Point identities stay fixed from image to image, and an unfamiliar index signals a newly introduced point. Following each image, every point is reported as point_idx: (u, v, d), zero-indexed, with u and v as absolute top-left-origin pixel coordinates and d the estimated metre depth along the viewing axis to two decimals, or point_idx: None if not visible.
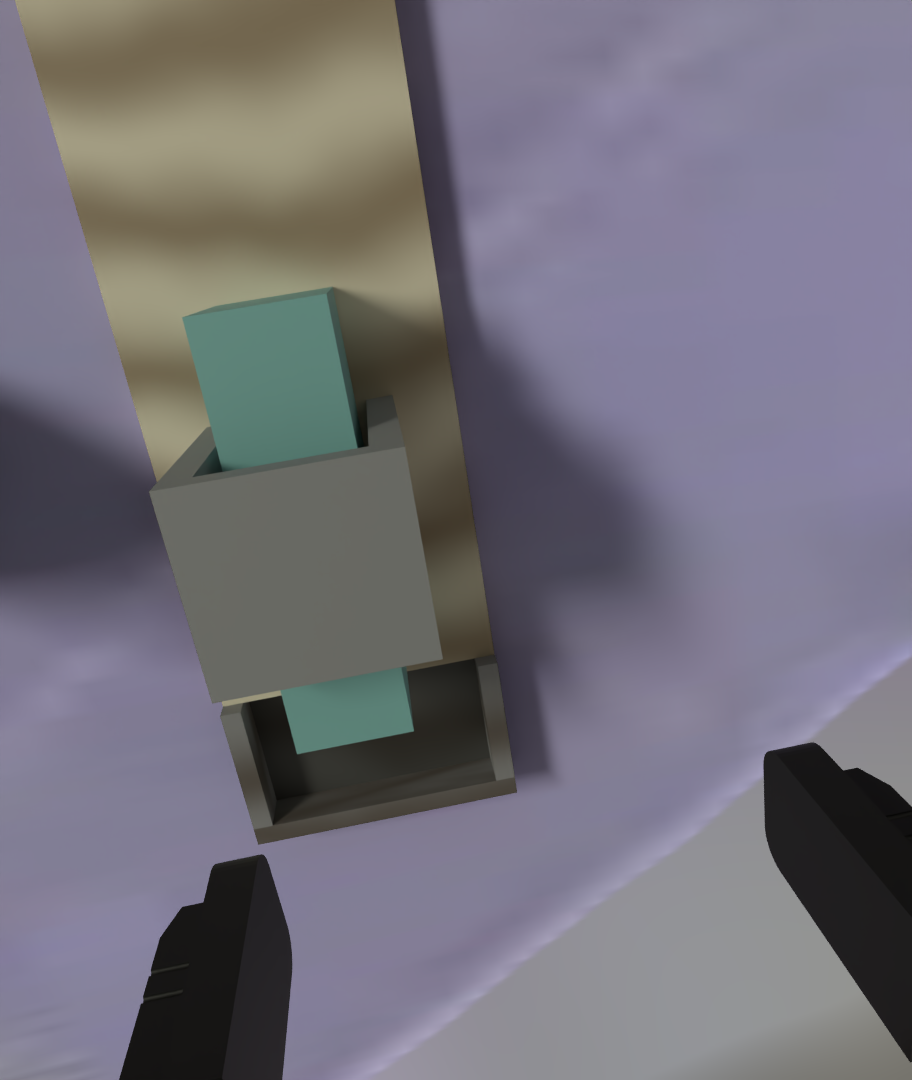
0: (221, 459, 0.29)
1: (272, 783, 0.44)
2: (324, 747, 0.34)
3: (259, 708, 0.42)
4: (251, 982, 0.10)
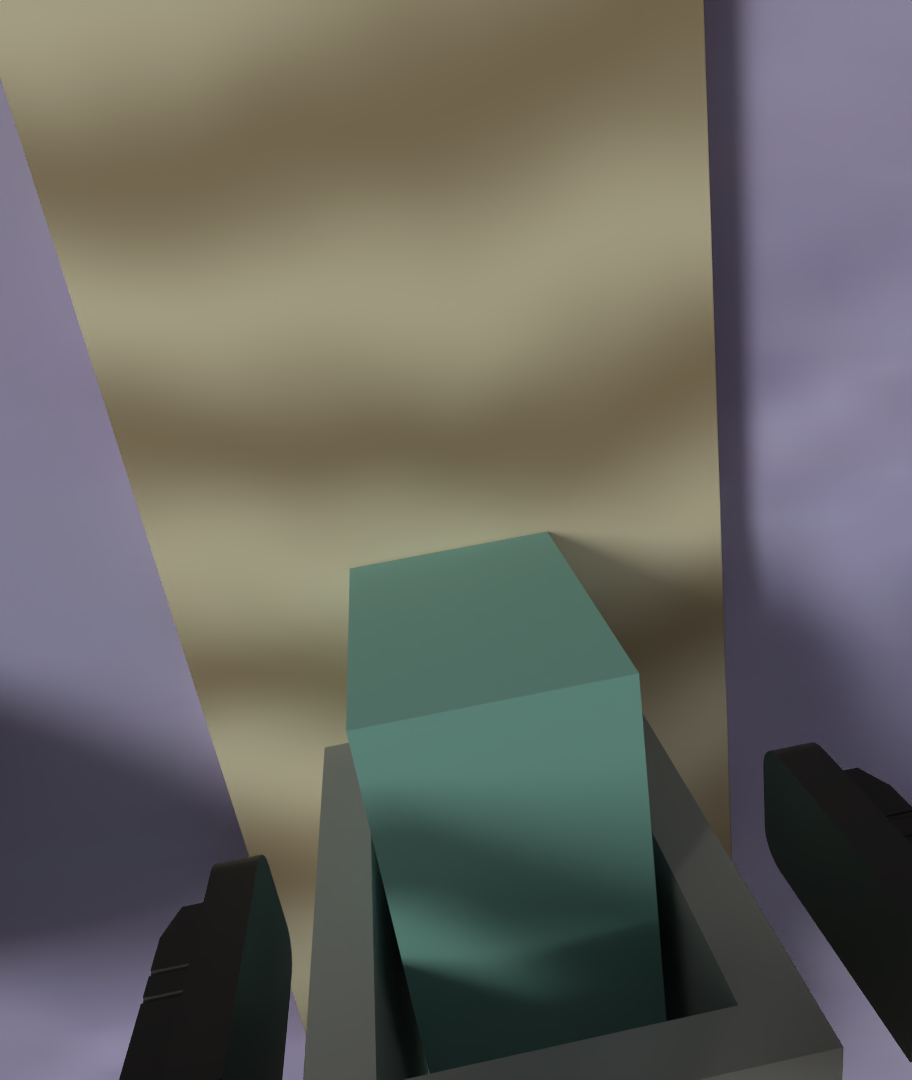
0: (404, 953, 0.15)
1: None
2: None
3: None
4: (250, 982, 0.10)
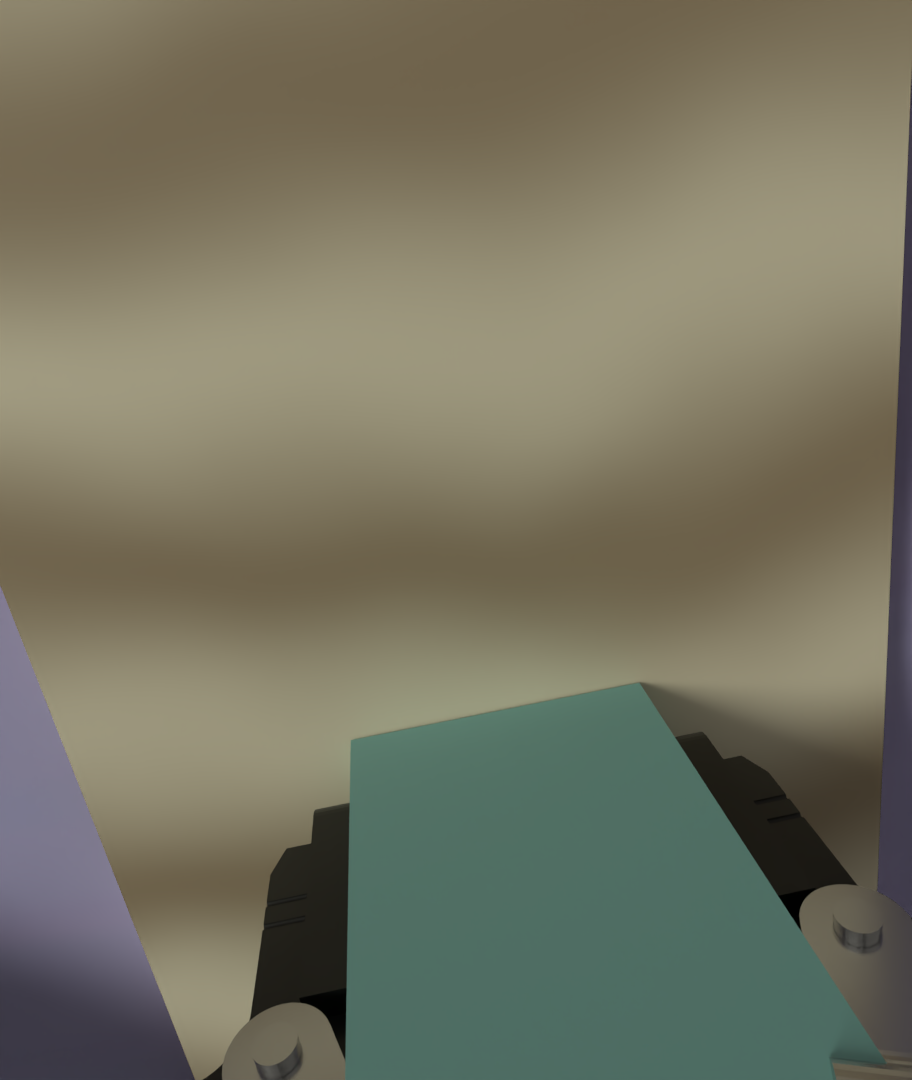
0: None
1: None
2: None
3: None
4: None
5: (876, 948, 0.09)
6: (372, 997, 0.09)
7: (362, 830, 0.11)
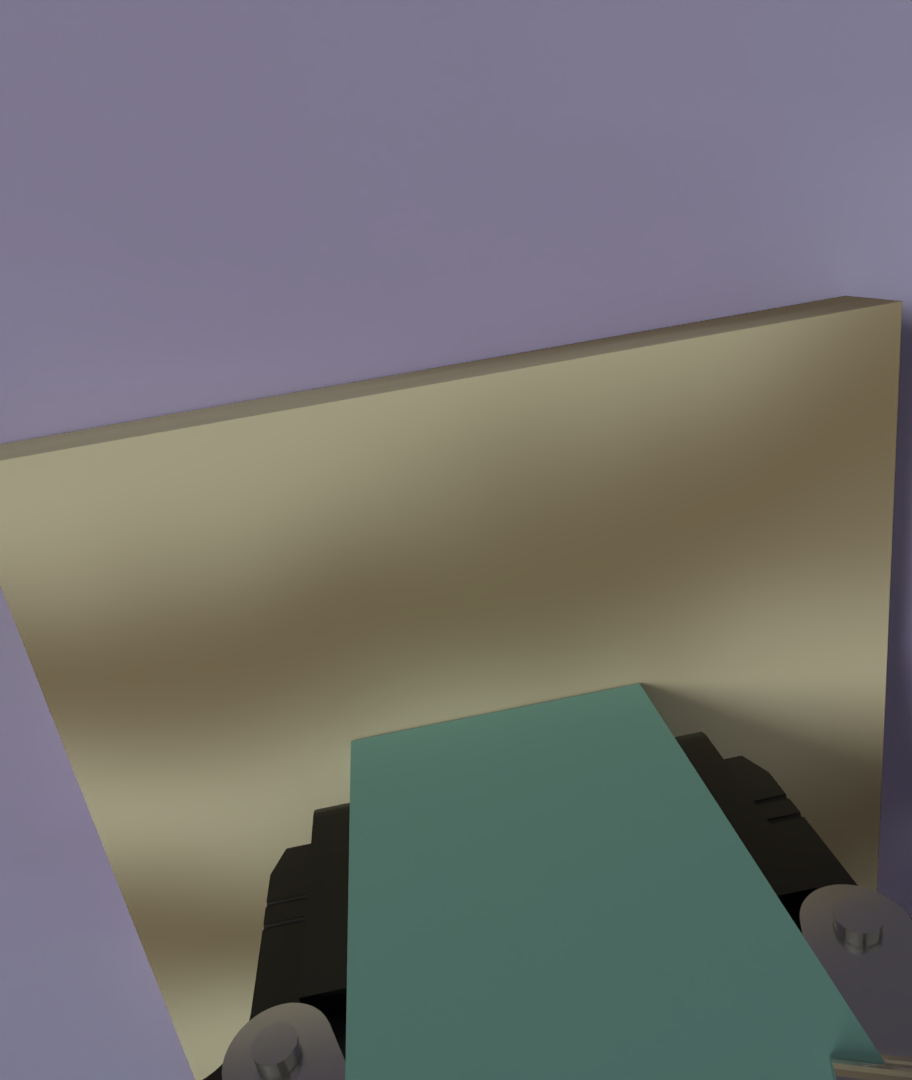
0: None
1: None
2: None
3: None
4: None
5: (876, 948, 0.09)
6: (372, 998, 0.09)
7: (362, 831, 0.11)
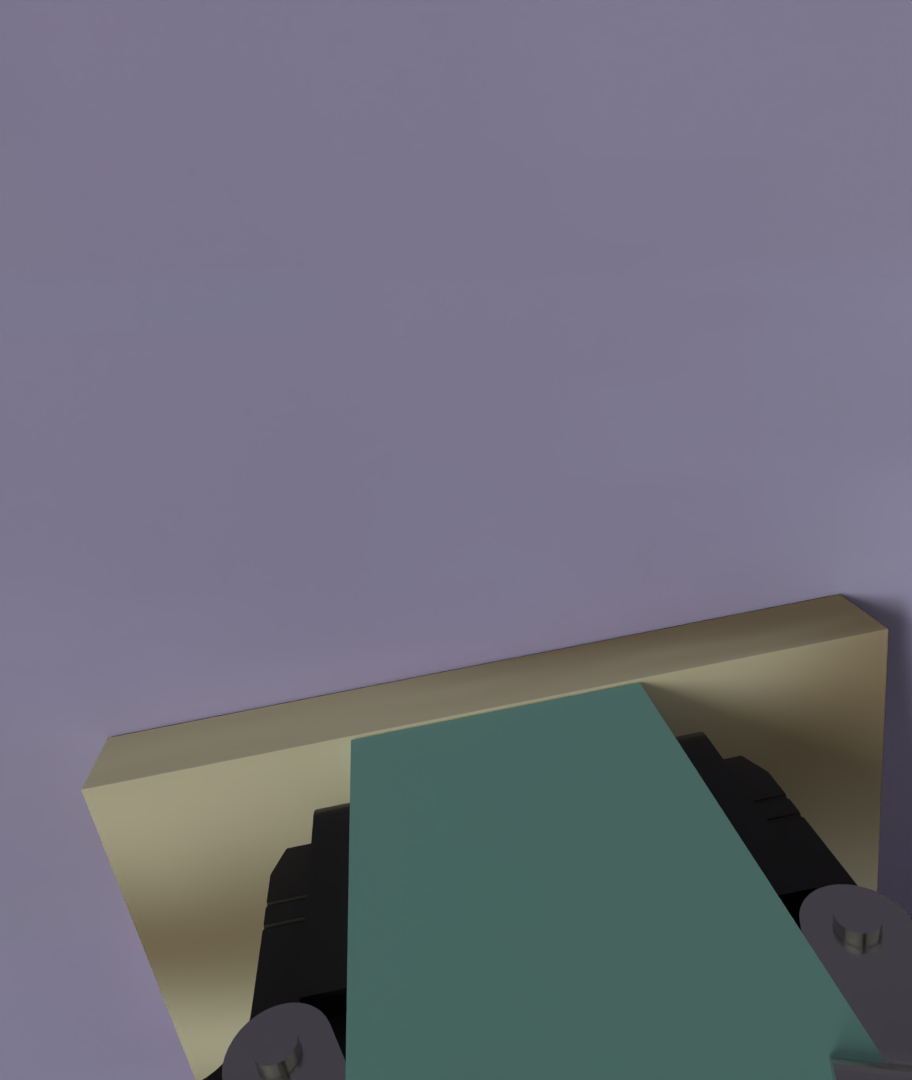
0: None
1: None
2: None
3: None
4: None
5: (876, 948, 0.09)
6: (372, 997, 0.09)
7: (362, 830, 0.11)
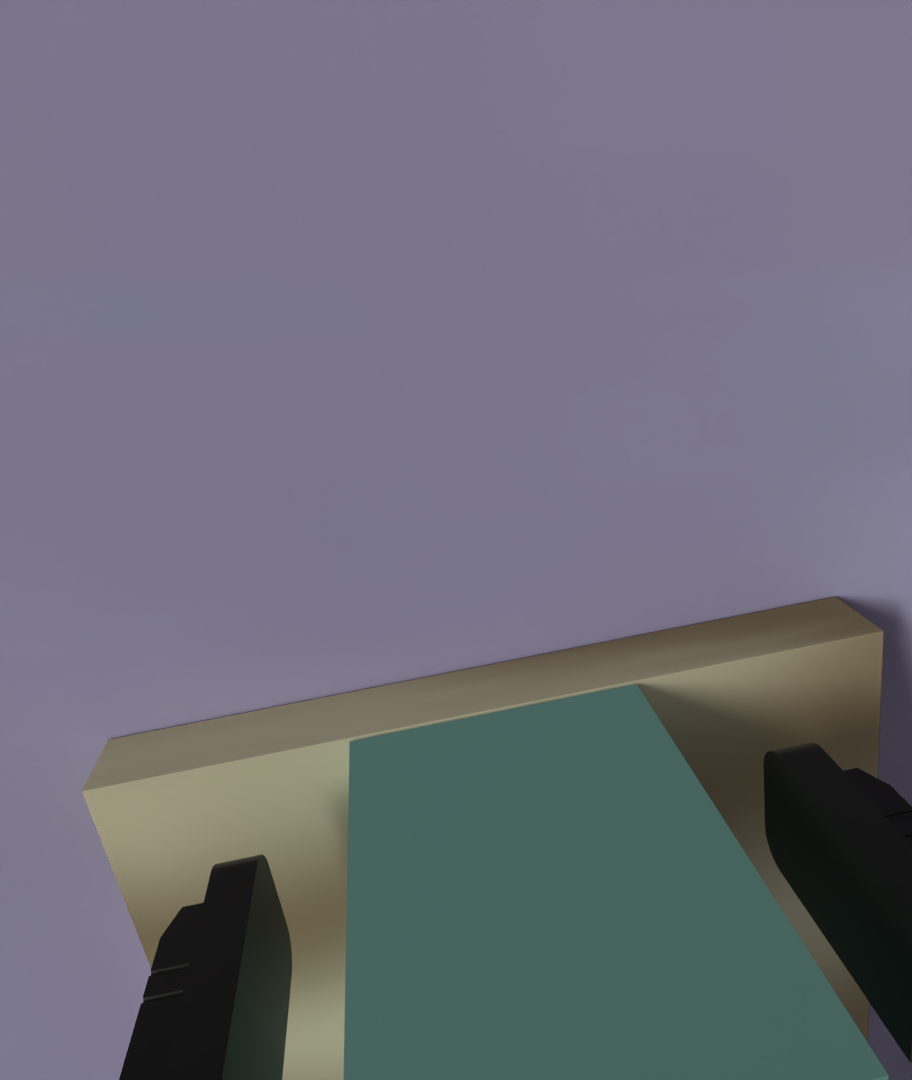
0: None
1: None
2: None
3: None
4: (251, 982, 0.10)
5: None
6: (370, 996, 0.09)
7: (361, 830, 0.11)
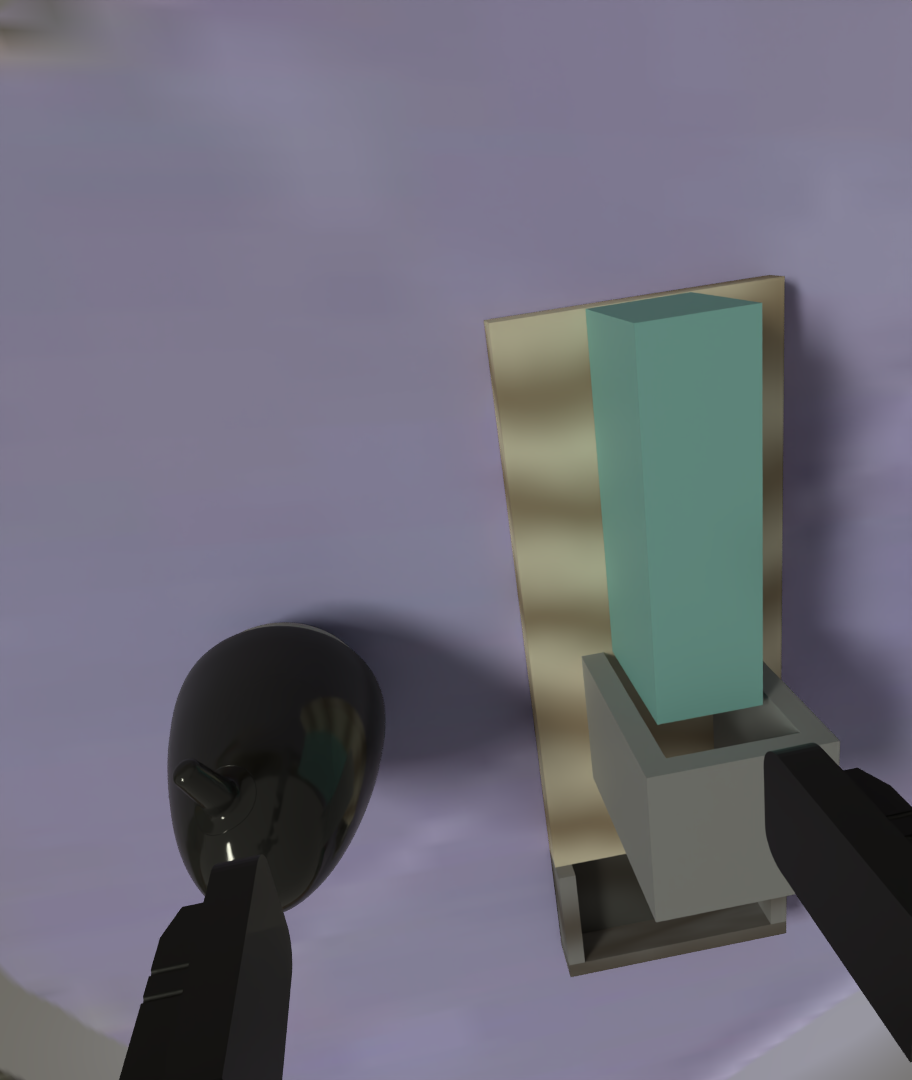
0: (643, 453, 0.32)
1: None
2: (681, 718, 0.37)
3: (575, 863, 0.49)
4: (251, 982, 0.10)
5: None
6: (625, 317, 0.32)
7: (603, 312, 0.34)
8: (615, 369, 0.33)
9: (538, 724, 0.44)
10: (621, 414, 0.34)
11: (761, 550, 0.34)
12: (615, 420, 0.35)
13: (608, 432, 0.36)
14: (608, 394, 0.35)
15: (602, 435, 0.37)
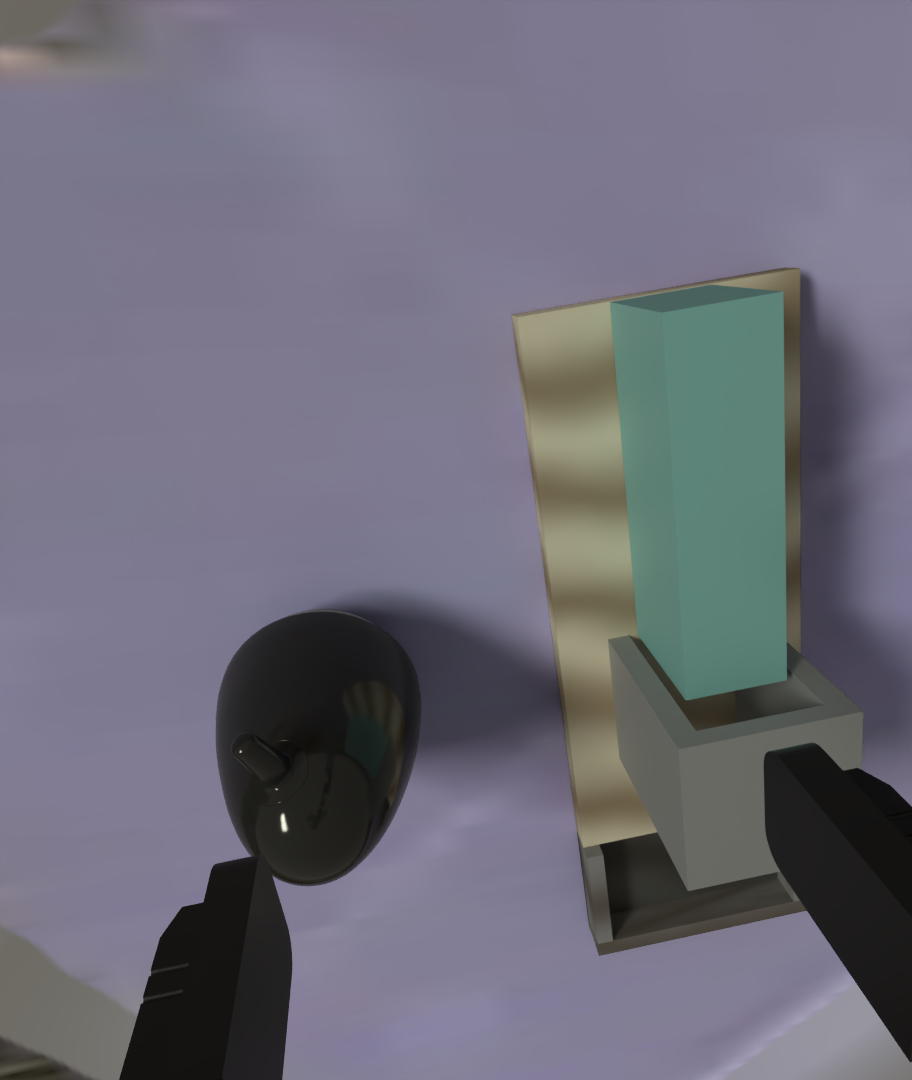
0: (671, 437, 0.33)
1: None
2: (708, 694, 0.38)
3: (601, 844, 0.51)
4: (251, 981, 0.10)
5: None
6: (651, 308, 0.33)
7: (628, 304, 0.36)
8: (642, 358, 0.35)
9: (566, 706, 0.46)
10: (648, 401, 0.35)
11: (784, 529, 0.35)
12: (642, 408, 0.36)
13: (634, 419, 0.38)
14: (633, 383, 0.37)
15: (627, 423, 0.39)
